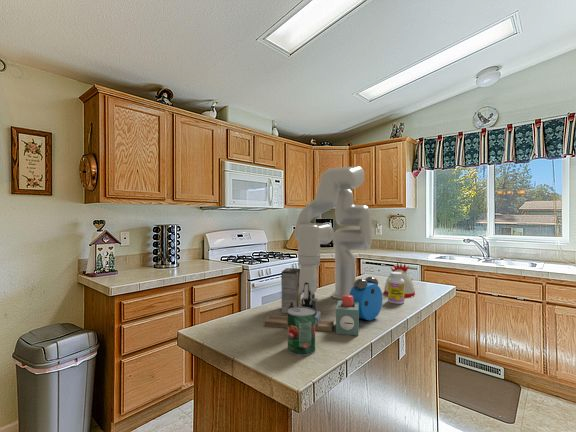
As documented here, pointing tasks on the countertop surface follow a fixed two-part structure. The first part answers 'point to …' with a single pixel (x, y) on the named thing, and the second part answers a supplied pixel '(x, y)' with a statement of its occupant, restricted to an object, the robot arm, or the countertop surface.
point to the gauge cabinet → (347, 319)
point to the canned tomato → (301, 331)
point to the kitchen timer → (408, 282)
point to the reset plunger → (347, 301)
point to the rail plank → (283, 322)
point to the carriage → (317, 313)
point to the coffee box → (290, 289)
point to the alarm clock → (367, 297)
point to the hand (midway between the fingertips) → (309, 313)
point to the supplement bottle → (396, 288)
